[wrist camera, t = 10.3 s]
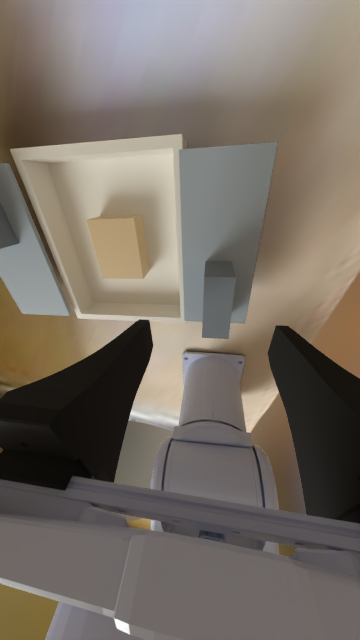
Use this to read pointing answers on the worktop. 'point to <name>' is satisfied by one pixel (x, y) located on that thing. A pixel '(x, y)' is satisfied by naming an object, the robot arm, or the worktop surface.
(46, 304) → the flap far
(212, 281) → the flap near
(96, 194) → the carton
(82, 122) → the worktop surface
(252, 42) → the worktop surface
